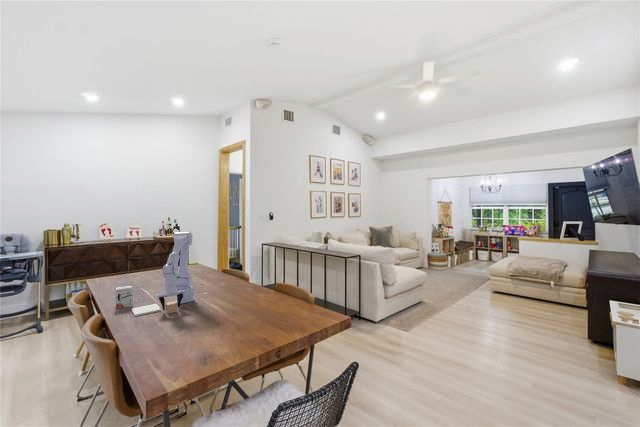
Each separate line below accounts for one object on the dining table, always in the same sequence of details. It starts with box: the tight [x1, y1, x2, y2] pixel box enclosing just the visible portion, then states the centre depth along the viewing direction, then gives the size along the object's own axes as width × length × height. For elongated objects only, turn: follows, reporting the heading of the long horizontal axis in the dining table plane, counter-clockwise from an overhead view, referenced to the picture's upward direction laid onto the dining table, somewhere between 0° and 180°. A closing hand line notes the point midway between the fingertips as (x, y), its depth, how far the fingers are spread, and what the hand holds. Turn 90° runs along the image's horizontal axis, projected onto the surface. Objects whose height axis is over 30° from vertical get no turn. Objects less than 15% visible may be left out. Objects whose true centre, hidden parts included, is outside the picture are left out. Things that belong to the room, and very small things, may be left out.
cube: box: [165, 300, 178, 314], centre depth 169 cm, size 5×5×5 cm
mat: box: [131, 303, 162, 317], centre depth 171 cm, size 13×13×1 cm
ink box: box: [115, 285, 134, 310], centre depth 179 cm, size 8×5×12 cm, turn 123°
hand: (171, 308), depth 169 cm, fingers open, 7 cm apart
